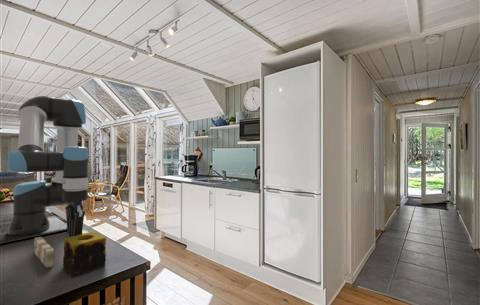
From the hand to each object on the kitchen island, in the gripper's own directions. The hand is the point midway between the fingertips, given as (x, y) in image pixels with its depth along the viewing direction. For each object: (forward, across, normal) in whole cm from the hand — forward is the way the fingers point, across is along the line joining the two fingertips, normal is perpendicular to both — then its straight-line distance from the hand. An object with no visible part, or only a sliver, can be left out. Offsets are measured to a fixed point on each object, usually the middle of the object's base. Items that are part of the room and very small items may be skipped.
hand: (73, 254), depth 86 cm
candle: (+2, +9, +1) cm, 9 cm away
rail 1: (+2, -8, -7) cm, 11 cm away
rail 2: (+2, -8, +7) cm, 11 cm away
